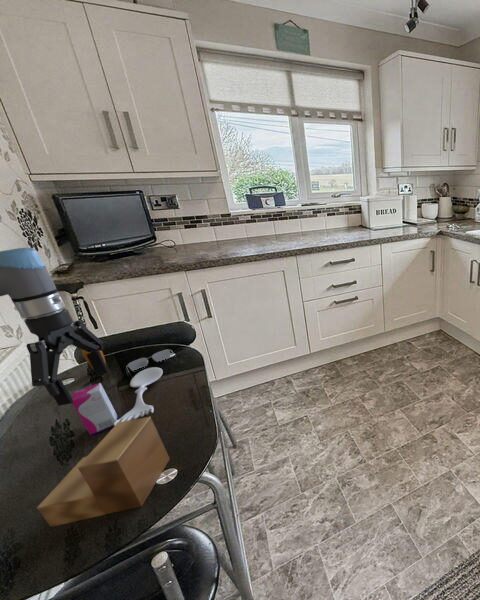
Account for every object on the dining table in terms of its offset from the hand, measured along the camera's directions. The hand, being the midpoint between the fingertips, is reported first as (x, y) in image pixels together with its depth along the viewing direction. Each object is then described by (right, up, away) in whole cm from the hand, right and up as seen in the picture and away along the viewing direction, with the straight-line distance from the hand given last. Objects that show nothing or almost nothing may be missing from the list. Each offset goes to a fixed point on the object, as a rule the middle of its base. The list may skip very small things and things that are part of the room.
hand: (86, 387), depth 85 cm
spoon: (+3, -7, +16) cm, 17 cm away
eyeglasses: (-7, -2, +33) cm, 34 cm away
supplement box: (+1, -12, +4) cm, 13 cm away
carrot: (-25, -4, +32) cm, 41 cm away
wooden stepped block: (+22, -17, -16) cm, 33 cm away
